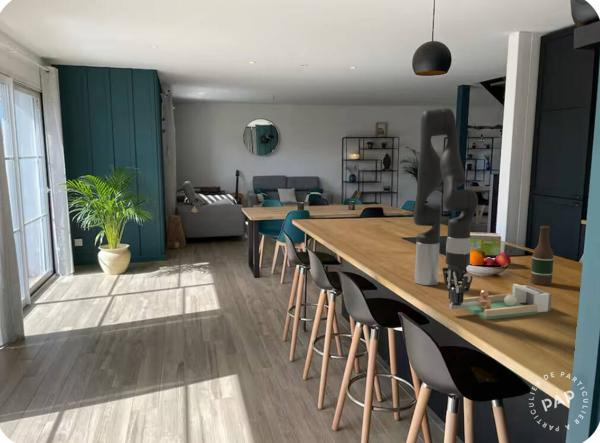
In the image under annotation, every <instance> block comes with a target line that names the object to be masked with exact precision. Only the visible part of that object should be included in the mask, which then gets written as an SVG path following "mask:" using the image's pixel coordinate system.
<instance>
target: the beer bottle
mask: <svg viewBox="0 0 600 443" xmlns="http://www.w3.org/2000/svg"><path fill="white" fill-rule="evenodd" d="M539 229H540V230H539V237H538V243H537V246H536V247H535V248H534V249H533V252H532V256H531V257H532V258H531V270H530V271H531V272H530V282H531V284H533V285H537V286H541V287H543V286H544V287H545V286H547V287H548V286H551V285H552V283H553V270H554V257H555V256H554V250H553V249H552V248H551V246H550V230H551V227H550V226H549V225H542V226H540V227H539Z"/></svg>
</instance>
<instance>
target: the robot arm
mask: <svg viewBox="0 0 600 443" xmlns="http://www.w3.org/2000/svg"><path fill="white" fill-rule="evenodd" d="M420 118H421V119H420V147H419V148H420V150H419V160H418V169H417V179H416V180H417V187H416V195H415V201H414V203H415V204H414V207H413V222H414V224H415V225H416V226H422V227H423V226H424V227H431V228H430V229H429V230H427V231H424V232H422V233H421V232H420V233H419V234H417V235H416V247H415V249H416V250H415V253H416V255H415V259H414V282H415V283H416V284H417V285H422V286H436V285H438V284H439V266H440V243H441V240H440V239H441V238H440V237H441V236H440V235H441V226H442V225H441V223H442V213H443V212H442V207H441V205H440V203H431V202H429V203H427V202H426V201H427V199H428V197H429V196H431V194H432V193H434V191H435V190H437V188H438V187H439V186H440V185H441V183H442V181H443V194H442V195H443V196H442V203H443V206H444V208H445V209H446V210H447V211H448V212H461V213H460V214H459V216H457V217H453V218H451V219H448V222H447V238H446V242H445V243H446V244H445V246H446V247H445V264H446V265H447V267H442V275H443V281H444V285H445V286H447V289H448V300H450V291H451V287H452V286H456V288H457V292H456V303H458V304H460V303H463V299H464V298H465V296H464V293H468V292H469V291H470V289H471V285H472V282H473V276H472V275H469V274H468V270H467V267H468V266H470V265H471V264H470V232H471V225H472V222H473V220H474V216H475V213H476V209H477V208H478V203H479V198H478V194H477V193H476V192H475V191H474V190H473V189H457V188H459V187H461V186H463V185H464V184H465V183H466V180H467V179H466V177H467V176H466V174H465V171H464V170H465V169H464V167H463V163H462V159H461V155H460V144H459V137H458V131H457V129H458V128H457V124H456V122H457V121H456V117H455V114H454V112H453V110H452V109H451V108H449V107H445V108H434V109H427V110H424V111H423V112H422V115H421V117H420ZM438 136H446V138H447V139H446V141H447V142H446V145H445V148H444V151H443V153H442V154H441V157H440V155H439V154H438V152H437V151H436V150H435V148H434V146H433V144H432V137H438ZM460 287H461V288H460Z"/></svg>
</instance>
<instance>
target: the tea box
mask: <svg viewBox="0 0 600 443" xmlns="http://www.w3.org/2000/svg"><path fill="white" fill-rule="evenodd" d="M501 244H502V236H501V235H499V233H495V232H472V231H470V249H471V248H479V249H482V250H483V251H484V252H485V255H486V257H490V258H495V257H496V256H498V255H499V254H500V255H501V246H502V245H501Z"/></svg>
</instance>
